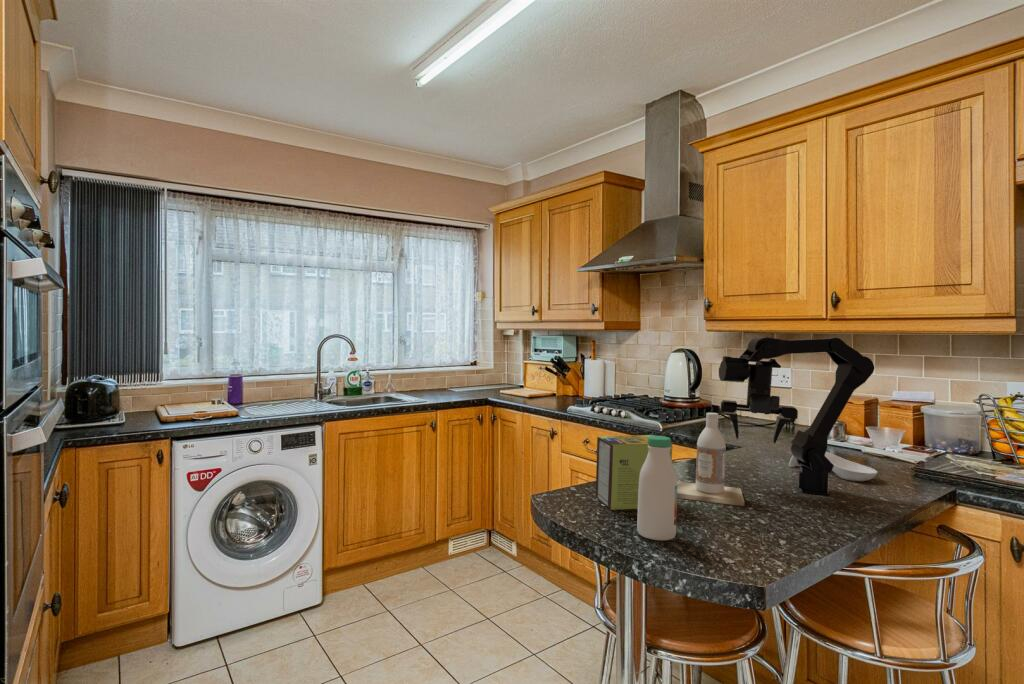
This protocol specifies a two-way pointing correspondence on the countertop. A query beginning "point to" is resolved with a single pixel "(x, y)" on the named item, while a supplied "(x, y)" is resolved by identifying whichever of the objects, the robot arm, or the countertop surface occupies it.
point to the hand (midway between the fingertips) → (755, 440)
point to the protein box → (620, 469)
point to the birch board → (726, 497)
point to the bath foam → (710, 458)
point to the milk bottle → (657, 492)
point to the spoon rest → (845, 468)
